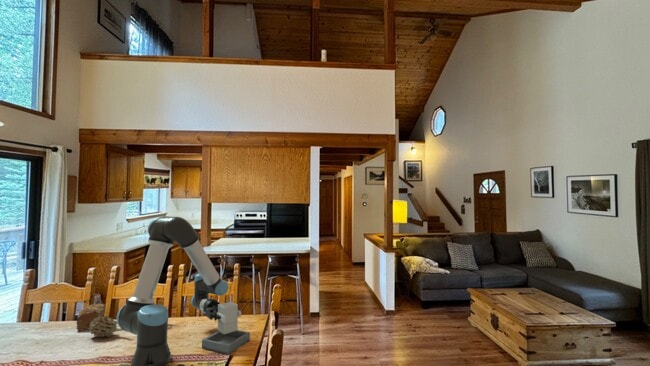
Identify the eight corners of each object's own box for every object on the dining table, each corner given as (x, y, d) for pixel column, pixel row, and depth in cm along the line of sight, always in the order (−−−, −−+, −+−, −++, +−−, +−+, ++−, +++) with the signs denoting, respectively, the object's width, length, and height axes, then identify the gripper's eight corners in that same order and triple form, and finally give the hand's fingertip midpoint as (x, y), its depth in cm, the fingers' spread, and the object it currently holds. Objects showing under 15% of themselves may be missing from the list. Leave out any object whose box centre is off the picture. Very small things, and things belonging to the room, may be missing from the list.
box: (201, 348, 149) (202, 339, 149) (224, 335, 163) (224, 327, 164) (228, 354, 143) (228, 345, 143) (249, 340, 157) (249, 332, 158)
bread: (98, 328, 173) (99, 309, 174) (74, 331, 169) (75, 312, 169) (105, 317, 190) (106, 300, 191) (84, 319, 186) (85, 302, 186)
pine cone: (82, 340, 157) (83, 320, 158) (96, 332, 167) (97, 313, 168) (124, 341, 157) (125, 320, 158) (136, 333, 166) (137, 314, 167)
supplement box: (231, 326, 159) (231, 301, 160) (237, 330, 154) (238, 304, 154) (217, 330, 154) (217, 304, 155) (223, 334, 149) (223, 307, 149)
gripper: (227, 308, 174) (250, 318, 158) (190, 318, 159) (212, 331, 143) (227, 294, 174) (250, 303, 159) (191, 303, 159) (213, 314, 144)
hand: (232, 316), depth 151 cm, fingers closed on supplement box, 8 cm apart
